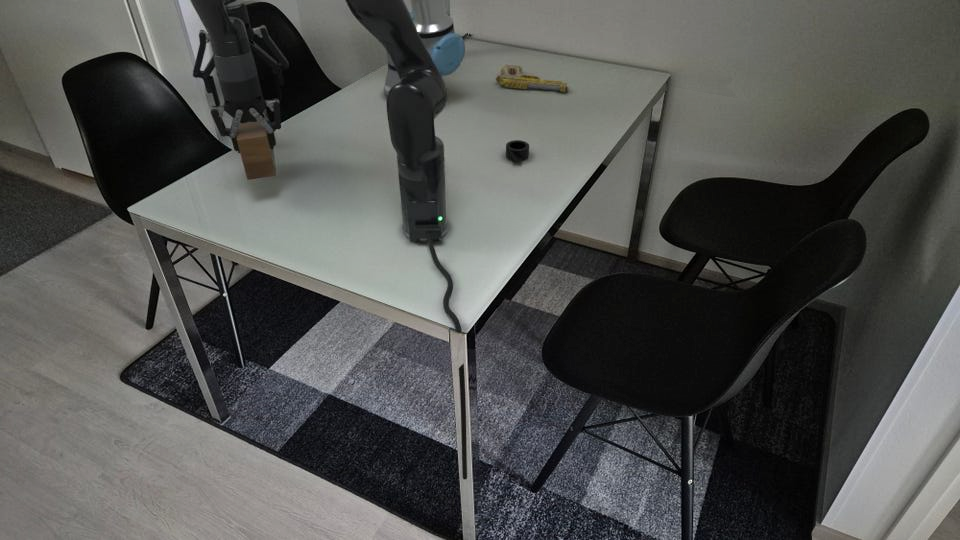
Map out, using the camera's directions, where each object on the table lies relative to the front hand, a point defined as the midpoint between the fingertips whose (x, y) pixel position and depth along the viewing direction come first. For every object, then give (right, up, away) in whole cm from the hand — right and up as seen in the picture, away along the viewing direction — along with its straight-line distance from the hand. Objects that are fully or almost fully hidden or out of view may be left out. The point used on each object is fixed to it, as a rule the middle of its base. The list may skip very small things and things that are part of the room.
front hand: (256, 149), depth 136 cm
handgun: (+65, +33, +61) cm, 95 cm away
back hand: (-4, +12, +8) cm, 15 cm away
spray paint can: (+35, +48, +81) cm, 101 cm away
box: (-2, 0, +9) cm, 9 cm away
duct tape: (+58, +2, +22) cm, 62 cm away
